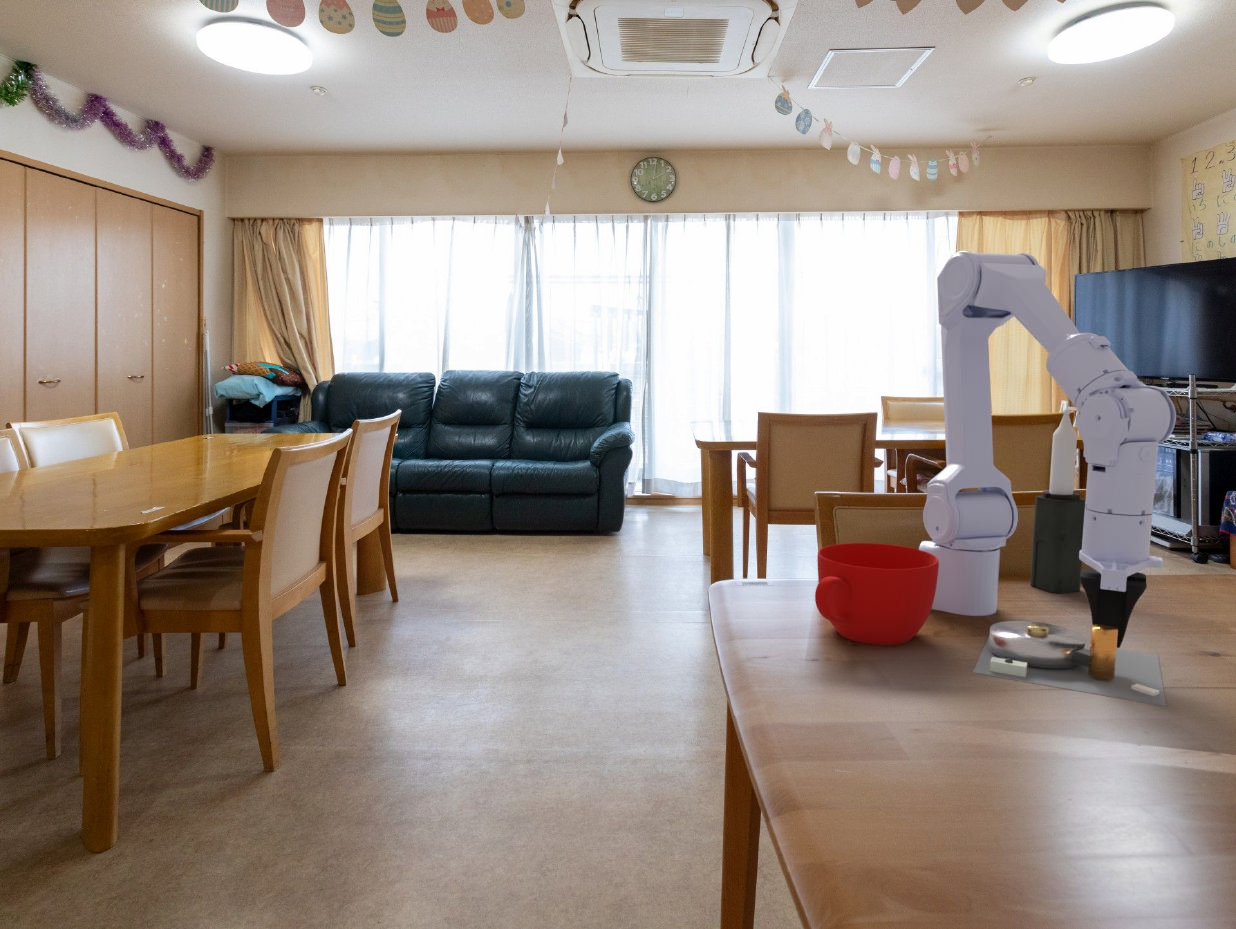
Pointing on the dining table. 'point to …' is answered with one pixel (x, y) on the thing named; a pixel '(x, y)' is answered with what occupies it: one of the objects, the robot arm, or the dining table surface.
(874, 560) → the ceramic cup
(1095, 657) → the crank wheel
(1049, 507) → the black and white bottle
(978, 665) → the stand
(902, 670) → the dining table surface
